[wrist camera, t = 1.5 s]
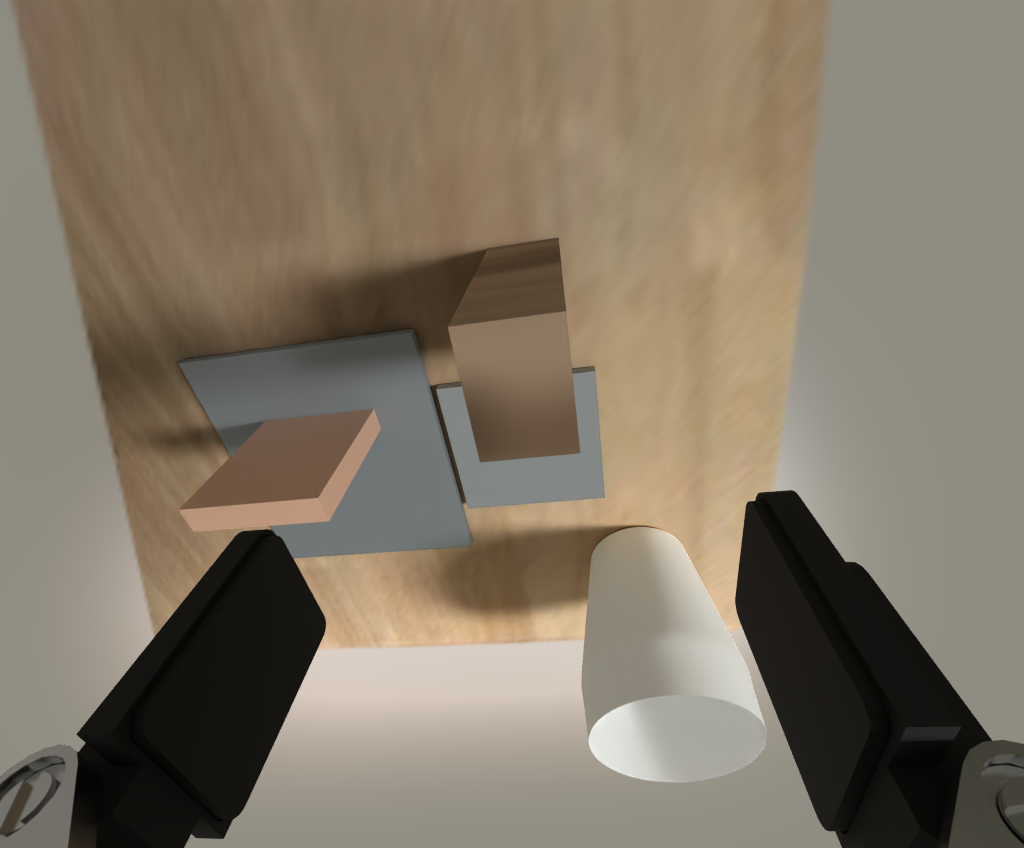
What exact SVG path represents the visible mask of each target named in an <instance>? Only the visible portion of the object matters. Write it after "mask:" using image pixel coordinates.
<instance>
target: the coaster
mask: <svg viewBox="0 0 1024 848" xmlns="http://www.w3.org/2000/svg"><path fill="white" fill-rule="evenodd" d="M572 375H573V385H574V395H575V404H576V414H577V424H578V434H579V443H580V453H579V454H568V455H557V456H546V457H535V458H525V459H514V460H503V461H492V462H481V463H480V460H479V456H478V452H477V448H476V444H475V439H474V435H473V431H472V427H471V423H470V419H469V414H468V410H467V406H466V402H465V398H464V393H463V389H462V385H461V382H457V383H448V384H439V385H438V386H437V388H436V391H437V395H438V399H439V402H440V406H441V410H442V413H443V417H444V421H445V424H446V428H447V432H448V436H449V439H450V443H451V447H452V450H453V454H454V458H455V461H456V465H457V469H458V472H459V476H460V480H461V484H462V487H463V491H464V495H465V498H466V502H467V506H468V508H481V507H494V506H506V505H519V504H532V503H545V502H557V501H570V500H583V499H595V498H605V494H604V480H603V467H602V453H601V440H600V427H599V413H598V400H597V386H596V373H595V367H585V368H577V369H572Z"/></svg>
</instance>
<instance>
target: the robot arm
mask: <svg viewBox="0 0 1024 848" xmlns="http://www.w3.org/2000/svg"><path fill="white" fill-rule="evenodd" d="M735 603H736V610H737V614H738V617H739V620H740V623H741V625H742V628H743V630H744V633H745V635H746V638H747V640H748V643H749V645H750V648H751V650H752V653H753V656H754V658H755V661H756V663H757V666H758V668H759V671H760V673H761V676H762V678H763V681H764V683H765V686H766V688H767V691H768V693H769V696H770V699H771V701H772V703H773V706H774V709H775V711H776V714H777V716H778V719H779V721H780V724H781V726H782V729H783V731H784V733H785V736H786V739H787V741H788V744H789V746H790V749H791V751H792V754H793V756H794V759H795V762H796V764H797V767H798V769H799V772H800V774H801V777H802V779H803V782H804V784H805V787H806V789H807V792H808V794H809V797H810V800H811V802H812V805H813V807H814V810H815V812H816V814H817V817H818V819H819V821H820V823H821V824H822V826H823V827H824V828H825V830H827V831H836V834H837V836H838V839H839V841H840V844H841V846H842V848H1024V744H1022V743H1017V742H1011V741H1006V740H996V741H992V740H991V738H990V737H989V736H988V734H987V733H986V731H985V730H984V729H983V727H982V726H981V725H980V723H979V722H978V721H977V719H976V718H975V717H974V716H973V714H972V713H971V711H970V710H969V709H968V707H967V706H966V704H965V703H964V702H963V700H962V699H961V698H960V696H959V695H958V694H957V692H956V691H955V690H954V688H953V687H952V686H951V684H950V683H949V681H948V680H947V679H946V677H945V676H944V675H943V673H942V672H941V671H940V669H939V668H938V667H937V665H936V664H935V663H934V661H933V660H932V658H931V657H930V656H929V654H928V653H927V652H926V650H925V649H924V648H923V646H922V645H921V644H920V642H919V641H918V639H917V638H916V637H915V636H914V634H913V633H912V631H911V630H910V629H909V627H908V626H907V625H906V623H905V622H904V621H903V619H902V618H901V617H900V615H899V614H898V612H897V611H896V610H895V609H894V607H893V606H892V604H891V603H890V602H889V600H888V599H887V598H886V596H885V595H884V593H883V592H882V591H881V589H880V588H879V587H878V585H877V584H876V583H875V581H874V580H873V579H872V577H871V576H870V575H869V573H868V572H867V571H866V570H865V569H864V568H863V567H862V566H860V565H859V564H857V563H855V562H845V561H844V559H843V558H842V556H841V555H840V553H839V552H838V551H837V549H836V548H835V546H834V545H833V544H832V542H831V541H830V539H829V538H828V536H827V535H826V534H825V532H824V531H823V529H822V528H821V526H820V525H819V524H818V522H817V521H816V519H815V518H814V517H813V515H812V514H811V512H810V511H809V509H808V508H807V507H806V505H805V504H804V502H803V501H802V500H801V498H800V497H799V495H798V494H797V493H796V492H794V491H792V490H789V491H776V492H762V493H758V495H757V496H756V500H755V501H750V502H748V503H747V505H746V511H745V519H744V528H743V537H742V545H741V554H740V562H739V571H738V580H737V588H736V597H735ZM325 629H326V620H325V617H324V615H323V613H322V611H321V609H320V607H319V605H318V604H317V602H316V600H315V598H314V596H313V594H312V592H311V591H310V589H309V587H308V585H307V583H306V581H305V579H304V578H303V576H302V574H301V572H300V570H299V568H298V566H297V565H296V563H295V561H294V559H293V557H292V555H291V554H290V552H289V550H288V548H287V546H286V544H285V542H284V541H283V539H282V538H281V537H280V536H277V535H276V534H275V533H274V532H273V531H272V530H267V529H266V530H252V531H243V532H240V533H238V534H237V535H236V536H235V537H234V539H233V540H232V541H231V542H230V544H229V545H228V546H227V547H226V549H225V550H224V551H223V552H222V554H221V555H220V556H219V557H218V559H217V560H216V561H215V562H214V564H213V565H212V566H211V567H210V569H209V570H208V571H207V572H206V573H205V575H204V576H203V577H202V578H201V580H200V581H199V582H198V583H197V585H196V586H195V587H194V588H193V590H192V591H191V592H190V593H189V595H188V596H187V597H186V598H185V600H184V601H183V602H182V603H181V605H180V606H179V607H178V608H177V610H176V611H175V612H174V613H173V615H172V616H171V617H170V618H169V620H168V621H167V622H166V623H165V625H164V626H163V627H162V628H161V630H160V631H159V632H158V633H157V635H156V636H155V637H154V638H153V640H152V641H151V642H150V644H149V645H148V646H147V647H146V648H145V650H144V651H143V652H142V653H141V655H140V656H139V657H138V658H137V660H136V661H135V662H134V663H133V665H132V666H131V667H130V668H129V670H128V671H127V672H126V673H125V675H124V676H123V677H122V678H121V680H120V681H119V682H118V683H117V685H116V686H115V687H114V689H113V690H112V691H111V692H110V693H109V695H108V696H107V697H106V698H105V700H104V701H103V702H102V703H101V704H100V706H99V707H98V708H97V710H96V711H95V712H94V714H92V716H91V717H90V718H89V719H88V721H87V722H86V723H85V724H84V726H83V727H82V728H81V729H80V731H79V732H78V733H77V735H78V736H79V737H80V738H81V739H82V740H83V741H85V742H86V743H85V745H84V746H83V747H82V748H81V750H80V751H79V752H77V751H75V750H74V749H73V748H72V747H71V746H65V745H57V746H53V747H49V748H45V749H42V750H40V751H38V752H36V753H34V754H32V755H30V756H28V757H26V758H25V759H23V760H22V761H20V762H19V763H18V764H16V765H14V766H13V767H11V768H10V769H9V770H7V771H6V772H5V773H4V774H3V775H1V776H0V848H184V847H185V845H186V842H187V841H188V839H189V837H190V835H191V834H192V835H193V836H195V837H196V838H213V839H214V838H215V839H224V837H225V835H226V833H227V830H228V829H229V827H230V825H231V822H232V820H233V819H234V818H236V817H237V816H238V815H239V814H240V813H241V812H242V810H243V809H244V807H245V805H246V803H247V801H248V799H249V797H250V794H251V792H252V790H253V788H254V786H255V784H256V781H257V779H258V777H259V775H260V773H261V771H262V768H263V766H264V764H265V762H266V760H267V758H268V755H269V753H270V751H271V749H272V747H273V745H274V742H275V740H276V738H277V736H278V734H279V732H280V729H281V727H282V725H283V723H284V721H285V718H286V716H287V714H288V712H289V710H290V707H291V705H292V703H293V701H294V699H295V697H296V695H297V692H298V690H299V688H300V686H301V684H302V681H303V679H304V677H305V675H306V673H307V671H308V669H309V666H310V664H311V662H312V660H313V657H314V656H315V653H316V651H317V649H318V647H319V645H320V643H321V640H322V638H323V636H324V633H325Z"/></svg>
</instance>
